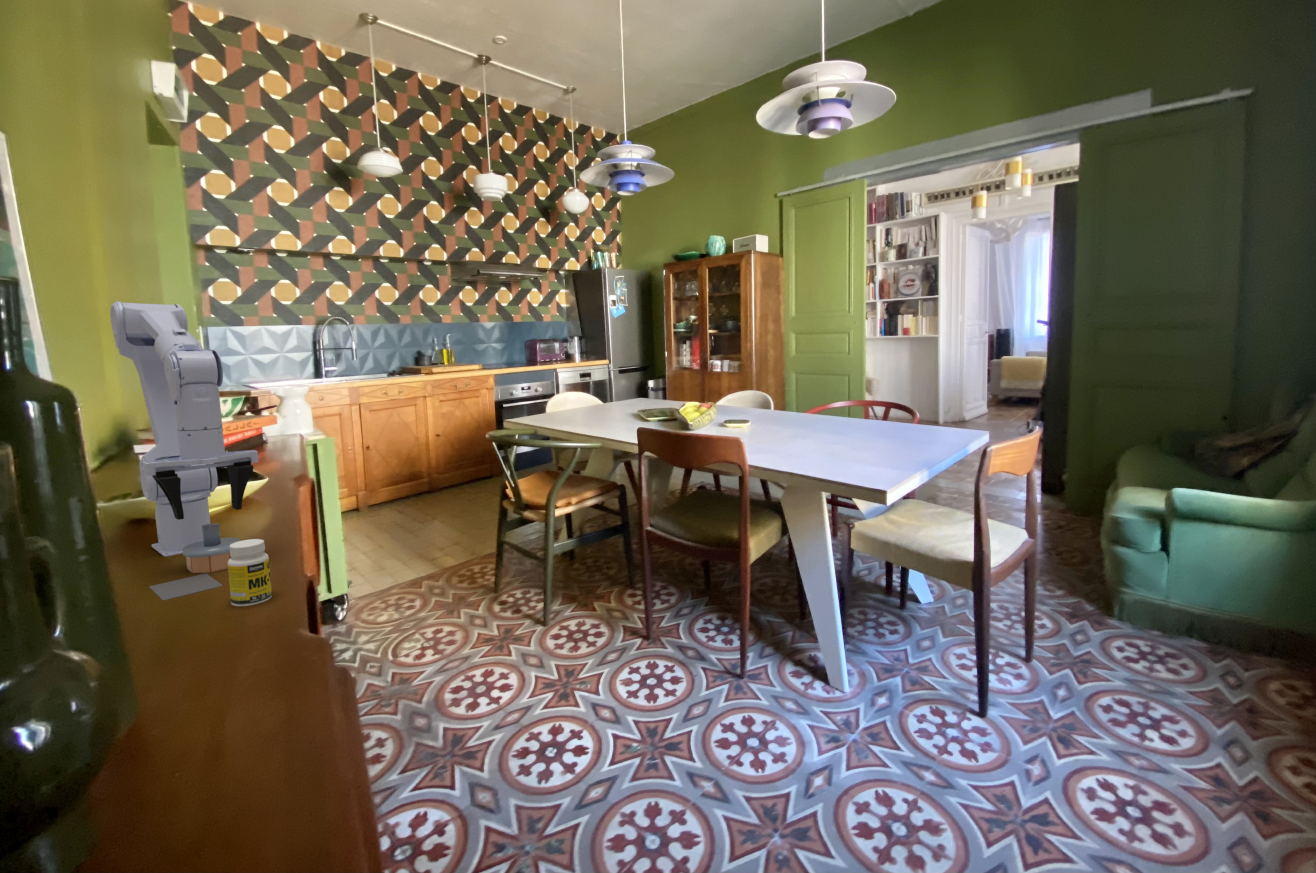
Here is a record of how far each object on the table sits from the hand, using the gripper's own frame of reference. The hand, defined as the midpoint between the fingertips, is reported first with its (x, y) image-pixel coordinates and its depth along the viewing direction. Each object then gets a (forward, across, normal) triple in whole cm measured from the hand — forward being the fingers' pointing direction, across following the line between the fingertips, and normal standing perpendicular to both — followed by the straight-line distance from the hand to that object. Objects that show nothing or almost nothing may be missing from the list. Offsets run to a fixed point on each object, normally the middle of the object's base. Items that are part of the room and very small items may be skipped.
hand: (209, 513), depth 98 cm
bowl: (+9, 0, 0) cm, 9 cm away
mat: (+9, -6, -8) cm, 13 cm away
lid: (+6, 0, 0) cm, 6 cm away
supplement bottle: (+9, -1, -21) cm, 23 cm away
